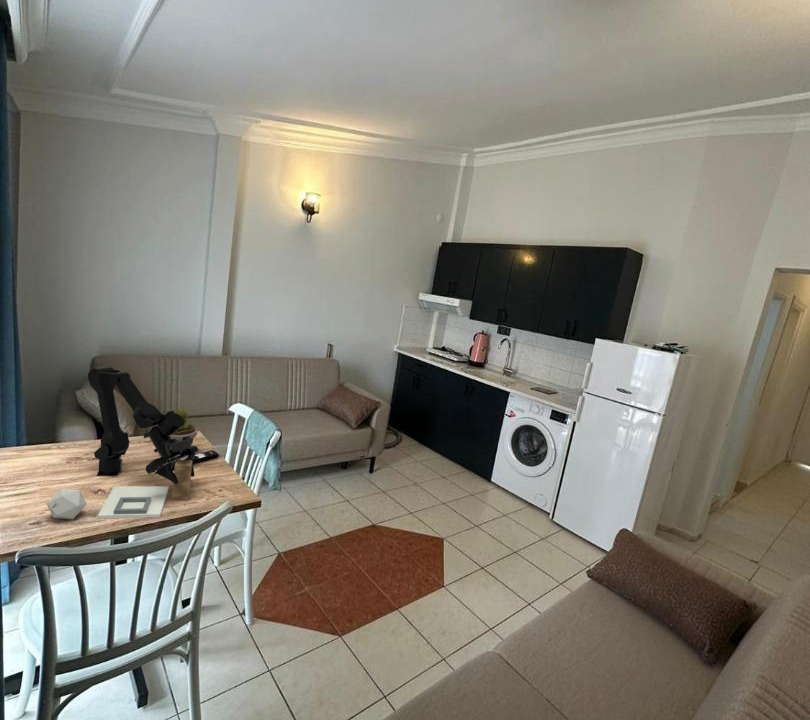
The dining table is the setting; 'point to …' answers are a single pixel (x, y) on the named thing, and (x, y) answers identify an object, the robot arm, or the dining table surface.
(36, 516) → the dining table surface
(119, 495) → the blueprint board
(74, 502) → the die
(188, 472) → the brown paper bag
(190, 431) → the flowerpot
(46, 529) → the dining table surface
